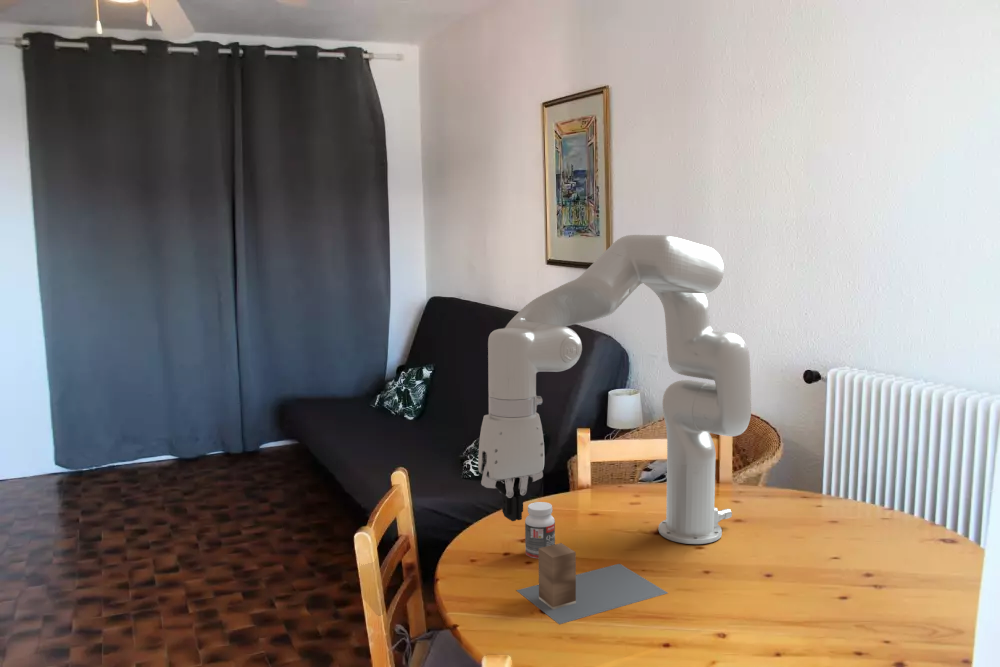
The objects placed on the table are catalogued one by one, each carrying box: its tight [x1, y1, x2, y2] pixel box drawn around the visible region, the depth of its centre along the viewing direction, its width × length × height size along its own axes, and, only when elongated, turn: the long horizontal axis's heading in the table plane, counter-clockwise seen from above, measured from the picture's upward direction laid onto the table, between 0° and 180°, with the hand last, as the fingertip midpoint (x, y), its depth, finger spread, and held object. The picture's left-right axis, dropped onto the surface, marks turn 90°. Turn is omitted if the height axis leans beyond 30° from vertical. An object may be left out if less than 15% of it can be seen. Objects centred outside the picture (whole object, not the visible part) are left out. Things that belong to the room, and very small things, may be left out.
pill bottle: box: [524, 501, 556, 559], centre depth 162 cm, size 6×6×10 cm
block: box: [538, 542, 577, 609], centre depth 141 cm, size 4×4×9 cm
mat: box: [515, 563, 669, 625], centre depth 145 cm, size 22×14×1 cm, turn 118°
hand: (512, 517), depth 136 cm, fingers closed
